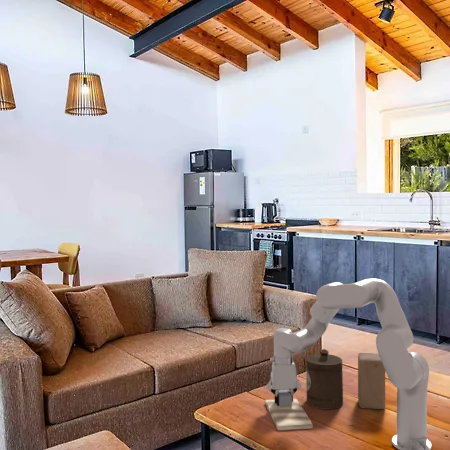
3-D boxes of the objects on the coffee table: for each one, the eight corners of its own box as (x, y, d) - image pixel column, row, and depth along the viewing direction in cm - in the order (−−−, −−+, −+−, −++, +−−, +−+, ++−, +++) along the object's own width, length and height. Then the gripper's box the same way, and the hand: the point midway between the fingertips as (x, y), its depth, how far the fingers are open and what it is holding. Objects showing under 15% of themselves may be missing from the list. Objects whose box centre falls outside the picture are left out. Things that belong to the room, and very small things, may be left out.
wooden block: (385, 410, 197) (385, 360, 196) (359, 408, 199) (359, 359, 198) (382, 400, 207) (382, 353, 206) (357, 398, 209) (357, 351, 208)
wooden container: (314, 392, 216) (313, 342, 215) (347, 399, 208) (347, 347, 207) (301, 405, 203) (300, 352, 202) (336, 412, 196) (336, 357, 194)
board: (312, 428, 183) (312, 424, 183) (277, 430, 181) (277, 426, 181) (296, 401, 207) (296, 398, 206) (265, 403, 205) (265, 400, 205)
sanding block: (291, 408, 196) (291, 396, 196) (280, 409, 196) (280, 396, 196) (287, 400, 204) (286, 388, 204) (276, 401, 204) (276, 389, 204)
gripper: (264, 363, 195) (264, 409, 196) (306, 361, 197) (306, 406, 198) (260, 357, 202) (261, 401, 203) (301, 355, 204) (301, 399, 205)
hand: (283, 403), depth 200 cm, fingers closed on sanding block, 4 cm apart
